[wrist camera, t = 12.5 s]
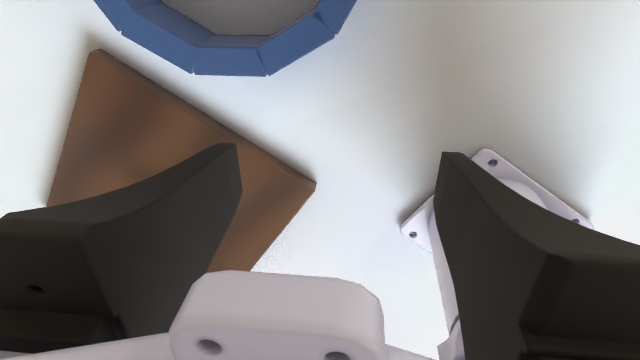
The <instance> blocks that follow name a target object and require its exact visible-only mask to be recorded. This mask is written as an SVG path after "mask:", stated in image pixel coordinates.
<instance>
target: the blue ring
mask: <svg viewBox="0 0 640 360" xmlns="http://www.w3.org/2000/svg"><path fill="white" fill-rule="evenodd" d="M94 1H95V3H96V4H97V5H98V7H99V8H100V9H101V10H102V12H103V13H104V14H105V15H106V17H107V18H108V19H109V21H110V22H111V23H112V24H113V26H114V27H115V28H116V30H117V31H122V33H121V34H122V35H123V36H125V37H127V38H128V39H130V40H132V41H134V42H135V43H137V44H139V45H141V46H143V47H144V48H146V49H148V50H150V51H151V52H153V53H155V54H157V55H158V56H160V57H162V58H164V59H165V60H167V61H169V62H171V63H173V64H174V65H176V66H178V67H180V68H181V69H183V70H185V71H187V72H188V73H190V74H192V73H193V72H194V73H195V74H196V75H221V76H258V77H265V76H266V75H267V74H268V75H269V76H271V75H272V74H274V73H276V72H277V71H279V70H281V69H282V68H284V67H286V66H287V65H289V64H291V63H293V62H294V61H296V60H298V59H299V58H301V57H303V56H304V55H306V54H308V53H310V52H311V51H313V50H315V49H316V48H318V47H320V46H321V45H323V44H325V43H326V42H328V41H330V40H332V39H333V38H334V37H335V34H338V33H339V31H340V29H341V27H342V26H343V24H344V22H345V20H346V18H347V17H348V15H349V13H350V11H351V10H352V8H353V6H354V4H355V3H356V1H357V0H319V2H318V4H317V6H316V8H314V9H313V10H311V11H310V12H308V13H306V14H305V15H303V16H302V17H300V18H299V19H297V20H295V21H294V22H292V23H291V24H289V25H288V26H286V27H284V28H283V29H281V30H280V31H278V32H277V33H275V34H273V35H272V36H255V35H216V34H214V33H213V32H211V31H209V30H207V29H206V28H204V27H202V26H201V25H199V24H197V23H196V22H194V21H192V20H191V19H189V18H187V17H186V16H184V15H182V14H181V13H179V12H177V11H175V10H174V9H172V8H170V7H169V6H167V5H165V4H164V3H163V2H162V1H161V0H94Z"/></svg>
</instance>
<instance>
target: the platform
mask: <svg viewBox="0 0 640 360" xmlns="http://www.w3.org/2000/svg"><path fill="white" fill-rule="evenodd" d="M217 143H236V147H237V154H238V161H239V167H240V174H241V181H242V188H243V192H242V195H241V199H240V202H239V205H238V208H237V211H236V214H235V216H234V218H233V220H232V222H231V224H230V226H229V228H228V230H227V232H226V234H225V236H224V238H223V240H222V242H221V244H220V246H219V248H218V250H217V252H216V253H215V255H214V257H213V259H212V262H211V264H210V266H209V268H208V271H207V273H211V272H218V271H226V270H237V271H250V270H251V269H252V268H253V267H254V265H255V264H256V263H257V262H258V260H259V259H260V258H261V257H262V255H263V254H264V253H265V252H266V251H267V249H268V248H269V247H270V246H271V244H272V243H273V242H274V241H275V239H276V238H277V237H278V236H279V235H280V233H281V232H282V231H283V230H284V228H285V227H286V226H287V225H288V224H289V222H290V221H291V220H292V219H293V217H294V216H295V215H296V214H297V212H298V211H299V210H300V209H301V208H302V206H303V205H304V204H305V203H306V201H307V200H308V199H309V198H310V196H311V195H312V194H313V193H314V192H315V188H316V184H317V183H315V182H314V181H312V180H311V179H309V178H307V177H306V176H304V175H303V174H301V173H299V172H298V171H296V170H295V169H293V168H291V167H290V166H288V165H286V164H285V163H283V162H282V161H280V160H278V159H277V158H275V157H274V156H272V155H270V154H269V153H267V152H266V151H264V150H262V149H261V148H259V147H257V146H256V145H254V144H253V143H251V142H249V141H248V140H246V139H245V138H243V137H241V136H240V135H238V134H237V133H235V132H233V131H232V130H230V129H228V128H227V127H225V126H224V125H222V124H220V123H219V122H217V121H216V120H214V119H212V118H211V117H209V116H208V115H206V114H204V113H203V112H201V111H199V110H198V109H196V108H195V107H193V106H191V105H190V104H188V103H187V102H185V101H183V100H182V99H180V98H179V97H177V96H175V95H174V94H172V93H171V92H169V91H167V90H166V89H164V88H162V87H161V86H159V85H158V84H156V83H154V82H153V81H151V80H150V79H148V78H146V77H145V76H143V75H142V74H140V73H138V72H137V71H135V70H133V69H132V68H130V67H129V66H127V65H125V64H124V63H122V62H121V61H119V60H117V59H116V58H114V57H113V56H111V55H109V54H108V53H106V52H104V51H103V50H101V49H98V50H95V51H92V52H90V53H89V55H88V59H87V63H86V66H85V70H84V74H83V77H82V81H81V84H80V88H79V92H78V95H77V99H76V103H75V106H74V110H73V113H72V117H71V121H70V124H69V128H68V131H67V135H66V139H65V142H64V146H63V150H62V153H61V157H60V160H59V164H58V168H57V171H56V175H55V179H54V182H53V186H52V189H51V193H50V197H49V200H48V204H47V207H50V206H55V205H60V204H65V203H69V202H74V201H78V200H82V199H86V198H90V197H94V196H97V195H101V194H104V193H107V192H110V191H114V190H117V189H120V188H123V187H126V186H129V185H132V184H134V183H137V182H139V181H142V180H144V179H147V178H149V177H151V176H154V175H156V174H158V173H160V172H162V171H164V170H166V169H168V168H170V167H172V166H174V165H176V164H178V163H180V162H182V161H184V160H186V159H188V158H189V157H191V156H193V155H195V154H197V153H199V152H201V151H202V150H204V149H206V148H208V147H210V146H212V145H214V144H217Z"/></svg>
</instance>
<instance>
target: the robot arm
mask: <svg viewBox="0 0 640 360" xmlns="http://www.w3.org/2000/svg"><path fill="white" fill-rule="evenodd" d="M492 159H495V160H496V161H495V162H494V163H492V164H489V163H488V162H489V161H490V160H492ZM242 192H243V188H242V181H241V174H240V167H239V161H238V154H237V147H236V143H217V144H214V145H212V146H210V147H208V148H206V149H204V150H202V151H201V152H199V153H197V154H195V155H193V156H191V157H189V158H188V159H186V160H184V161H182V162H180V163H178V164H176V165H174V166H172V167H170V168H168V169H166V170H164V171H162V172H160V173H158V174H156V175H154V176H151V177H149V178H147V179H144V180H142V181H139V182H137V183H134V184H132V185H129V186H126V187H123V188H120V189H117V190H114V191H110V192H107V193H104V194H101V195H97V196H94V197H90V198H86V199H82V200H78V201H74V202H69V203H65V204H60V205H55V206H50V207H44V208H37V209H31V210H25V211H19V212H11V213H8V214H6V215H4V216H3V217H2V218H0V360H434V359H431V358H428V357H425V356H422V355H419V354H416V353H412V352H409V351H406V350H403V349H400V348H397V347H394V346H391V345H387V344H385V340H384V318H383V312H382V309H381V305H380V301H379V299H378V298H377V297H376V296H375V295H373V294H372V293H371V292H370V291H369V290H367V289H366V288H365V287H364V286H362V285H361V284H358V283H354V282H350V281H346V280H342V279H339V278H330V277H317V276H304V275H290V274H277V273H264V272H250V271H237V270H226V271H218V272H211V273H207V271H208V268H209V266H210V264H211V262H212V259H213V257H214V255H215V253H216V252H217V250H218V248H219V246H220V244H221V242H222V240H223V238H224V236H225V234H226V232H227V230H228V228H229V226H230V224H231V222H232V220H233V218H234V216H235V214H236V211H237V208H238V205H239V202H240V199H241V195H242ZM573 219H575V220H574V221H571V220H573ZM411 232H416V233H415V234H410V233H411ZM400 233H401V234H402V235H403V236H405V237H406V238H408V239H409V240H411V241H413V242H414V243H416V244H418V245H419V246H421V247H422V248H424V249H426V250H427V251H429V252H430V253H432V254H433V258H434V262H435V267H436V272H437V277H438V282H439V287H440V292H441V297H442V302H443V307H444V312H445V317H446V322H447V327H448V332H449V338H448V339H447V340H446V341H445V342H443V343H442V344H440V345H438V346H437V348H438V354H439V360H640V245H637V244H634V243H630V242H627V241H624V240H621V239H618V238H615V237H612V236H609V235H606V234H603V233H600V232H598V231H595V230H594V226H593V225H592V223H591V222H590V221H589V220H587V219H586V218H584V217H583V216H582V215H580V214H579V213H578V212H576V211H575V210H573V209H572V208H571V207H569V206H568V205H567V204H565V203H564V202H562V201H561V200H560V199H558V198H557V197H556V196H554V195H553V194H551V193H550V192H549V191H547V190H546V189H545V188H543V187H542V186H541V185H539V184H538V183H536V182H535V181H534V180H532V179H531V178H530V177H528V176H527V175H525V174H524V173H523V172H521V171H520V170H519V169H517V168H516V167H514V166H513V165H512V164H510V163H509V162H508V161H506V160H505V159H503V158H502V157H501V156H499V155H498V154H497V153H495V152H494V151H492V150H491V149H487V148H485V149H482V150H480V151H479V152H478V153H477V154H475V155H474V156H473V157H472V158H471V159H470V158H468V157H467V156H466V155H464V154H463V153H460V152H442V156H441V161H440V166H439V171H438V177H437V182H436V187H435V192H434V194H433V195H432V196H431V197H430V198H429V199H428V200H427V201H426V202H425V203H423V204H422V205H421V206H420V207H419V208H418V209H417V210H416V211H415V212H414V213H413V214H412V215H411V216H410V217H409V218H408V219H406V220H405V221H404V222H403V223H402V224H401V226H400Z"/></svg>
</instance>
